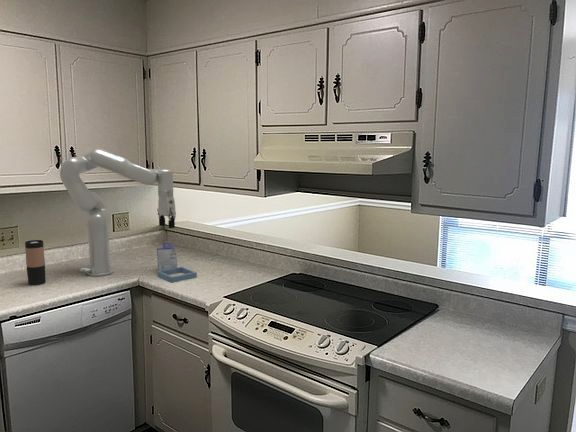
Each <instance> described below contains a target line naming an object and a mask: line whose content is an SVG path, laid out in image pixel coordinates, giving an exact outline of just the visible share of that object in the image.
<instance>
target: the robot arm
mask: <svg viewBox="0 0 576 432" xmlns="http://www.w3.org/2000/svg"><path fill="white" fill-rule="evenodd" d="M97 168H100V169H105V170H107V171H109V172H112V173H115V174H118V175H119V176H122V177H125V178H126V179H129V180H132V181H134V182H137V183H140V184H143V185H145V186H146V185H147V186H151V185H153V184H155V183H156V184H157V195H158V196H157V197H158V200H157V201H158V202H157V203H158V205H157V215H158V226H160V227H161V226H166V217H167V218H168V222H167V223H168V229H175V227H176V226H175V225H176V224H175V222H176V221H175V220H176V215H177V212H176V202H175V197H174V175H173V170H172V169H169V168H165V169H164V168H163V169H155V168H145V167H142V166H140V165H137V164H135V163H134V162H131V161H130V160H129V159H127V158H125V157H123V156H121V155H117V154H116V153H112V152H110V151H108V150H107V149H105V148H102V147H101V148H100V147H98V148H94V149H92V150H91V151H90V152H87V153H83V154H80V155H78V156H72V157H68V158H67V159H65V161H64V162H63V163H62V164H61V167H60V170H59V176H60V181H61V182H62V184H63V187H65V189H66V191H67V192H68V194H69V196H70V197H71V199H72V200H73V201H74V203H75V205H76V206H77V209H79V210H80V211H82V212H85V213H87V214H88V217H87V219H86V230H87V237H88V238H87V239H88V254H89V255H88V257H89V264H87V266H86V267H80V268H79V272H81V273H82V272H84V273H86V275H87V276H90V277H104V276H109V275H111V274H113V273H114V271H115V270H114V268H112V267H111V260H110V259H111V257H110V255H111V253H110V238H109V237H110V235H109V231H108V230H109V229H108V226H109V224H111V221H112V215H111V212H110V211H109V210H108V208H107V206H106V205H105V203H104V202H103V200H102V198H101V197H100V196H99V195H98V193H97V192H95V191H92V190H89V188H88V186H87V185H86V183H85V182H84V181H83V179H82V178H81V176H80V174H84V173H85V172H86V173H87V172H89V171H92V170H95V169H97Z"/></svg>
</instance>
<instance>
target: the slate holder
mask: <svg viewBox="0 0 576 432" xmlns="http://www.w3.org/2000/svg"><path fill="white" fill-rule="evenodd" d="M156 273H157V275H156V277H158V278H160V279H162V280H165V281H167V282H170V283H177V282H181V280H182V281H186V280H191V279H193V278H194V279H195V278H197V277H198V275H197V273H198V272H197V271H195V270H192V269H189V268H187V267H184V266H177V268H173V269H168V270H162V271H158V270H157V272H156ZM178 273H182V274H179V275H174V274H178ZM171 275H174V276H171Z"/></svg>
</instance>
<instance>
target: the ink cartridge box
mask: <svg viewBox="0 0 576 432" xmlns="http://www.w3.org/2000/svg"><path fill="white" fill-rule="evenodd" d="M156 250H157V251H156V253H157V254H156V255H157V271H162V270H168V269H173V268H178V248H177V246H171V242H162V247H156Z"/></svg>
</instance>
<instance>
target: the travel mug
mask: <svg viewBox="0 0 576 432" xmlns="http://www.w3.org/2000/svg"><path fill="white" fill-rule="evenodd" d="M44 245H45V244H44V240H42V239H41V240H40V239H34V240H33V239H32V240H27V241H25V242H24V247H25V250H24V251H25V264H26V273H27V281H28V282H27V283H28V285H29V286H41V285H43V284H46V261H45V249H44V248H45V246H44Z"/></svg>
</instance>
